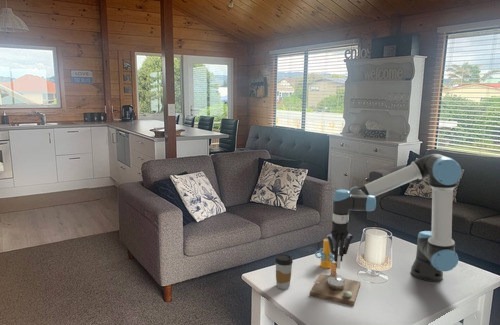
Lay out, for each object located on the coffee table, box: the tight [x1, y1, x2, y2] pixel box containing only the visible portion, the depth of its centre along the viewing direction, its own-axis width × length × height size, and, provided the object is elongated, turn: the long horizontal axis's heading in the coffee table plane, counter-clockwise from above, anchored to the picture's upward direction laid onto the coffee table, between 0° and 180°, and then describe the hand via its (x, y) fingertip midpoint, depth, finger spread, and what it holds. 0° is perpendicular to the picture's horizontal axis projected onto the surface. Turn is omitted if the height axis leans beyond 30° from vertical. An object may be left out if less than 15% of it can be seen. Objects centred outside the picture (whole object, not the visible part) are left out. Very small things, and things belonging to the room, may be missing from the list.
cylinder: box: [314, 238, 335, 269], centre depth 208 cm, size 12×10×15 cm
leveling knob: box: [327, 261, 346, 290], centre depth 186 cm, size 13×8×8 cm, turn 178°
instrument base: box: [309, 273, 361, 306], centre depth 184 cm, size 20×20×4 cm
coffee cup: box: [274, 253, 293, 290], centre depth 186 cm, size 8×8×15 cm
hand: (337, 267), depth 191 cm, fingers closed
